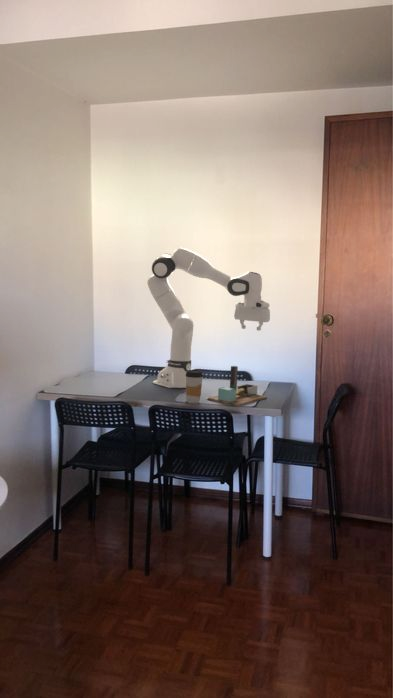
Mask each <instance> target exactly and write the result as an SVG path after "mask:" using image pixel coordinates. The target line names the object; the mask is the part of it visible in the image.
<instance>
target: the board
mask: <svg viewBox="0 0 393 698" xmlns="http://www.w3.org/2000/svg"><path fill="white" fill-rule="evenodd" d="M265 399H267V396H265V395H262V394H261V395H260V394H257V395H253V396H249V397H245V396H240V395H237V396H236V400H235V401H232V402H228V401H223V400H218V395H215V396H211V397H207V401H211V402H216V403H220V404H224V405H231V406H235V407H240V406H245V405H247V404H252V403H255V402H258V401H261V400H265Z"/></svg>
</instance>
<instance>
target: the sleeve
mask: <svg viewBox="0 0 393 698" xmlns="http://www.w3.org/2000/svg"><path fill="white" fill-rule="evenodd" d="M240 388H244V389H245V393H244V394H241V395H240V396H245V397H249V396H253V395H258V385H255V384H249V383H245V384H241V385H237V389H240Z"/></svg>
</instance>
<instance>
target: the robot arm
mask: <svg viewBox="0 0 393 698" xmlns="http://www.w3.org/2000/svg"><path fill="white" fill-rule="evenodd" d="M175 270H181V271H183V272H185V273H187V274H189V275H191V276H193V277H196V278H200V279H207V280H210V281H213V282H214V283H216V284H218V285H220V286H222V287H224V288H225V289H226V290H227V291H228V293H229V294H230V295H231V296H233V297H240V296H244V297H243V301H242V302H240V301H238V302H237V303H236V304H235V310H234V313H233V314H234V315H233V317H234V319H235V320H239V322H240V325H241V329H243V330H246V327H247V326H246V324H245V323H244V322H245V321H248V322H249V321H250V322H257V323H258V324H259V325H258V326H257V327H256V331H258V332H259V331H261V330H262V327H263V325H264V323H268V322H269V321H270V320H271V311H270V309H269V308H270V303H268V302H267V301H264V300H262V295H261V293H262V289H263V278H262V276H261V274H260V273H259V272H253V271H247V272H245V273H244V274H242V275H239V276H230V275H228V274H226V273H224V272H222V271H220V270H218V269H217V268H216V267H215V266H213V265H212V264H211V262H210V261H208V260H207V259H206V258H204V257H203V256H202V255H200V254H198V253H196V252H194V251H192V250H189V249H188V248H183V247H178V248H176V249H175V250H174V252H173V253H172V254H170V253H163V254H161V255H160V256H157V257H156V258H155V260H154V261H153V262H152V265H151V272H152V275H151V276H150V277H149V278H148V280H147V287H148V289H149V291H150V294H151V295H152V297H153V299H154V301H155V302H156V304H157V306H158V307H159V309H160V311H161V312H162V314H163V316H164V317H165V319H166V321H167V323H168V325H169V326H170V329H172V331H171V333H172V334H171V343H170V358H169V359H167V360H166V363H167V366H165V367H164V368H162V370H160V371H159V372H158V374H157V379H155V380H153V381H152V384H155V385H158V386H161V387H166V388H168V389H169V388H170V389H171V388H173V389H174V388H175V389H176V388H179V389H183V388H185V389H186V373H187V371H188V370H192V360H191V356H192V342H193V336H194V335H193V334H194V333H193V332H194V321H193V320H192V318H191V317H190V316H189V315H188V314H187V312H186V310H185V308H184V307H183V305H182V303H181V301H180V299H179V298H178V296H177V295H176V293H175V291H174V289H173V287H172V286H171V284H170V282H169V277H170V276H171V275H172V274H173V273H174V272H175Z"/></svg>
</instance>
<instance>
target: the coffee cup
mask: <svg viewBox="0 0 393 698" xmlns="http://www.w3.org/2000/svg"><path fill="white" fill-rule="evenodd" d="M203 376H204V374H203V371H202V370H198V369H197V370H196V369H191V370H188V371H187V373H186V388H185V395H186V398H185V399H186V403H188V404H199V403H200V401H201V396H202V395H201V394H202V388H203V387H202V386H203Z"/></svg>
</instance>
